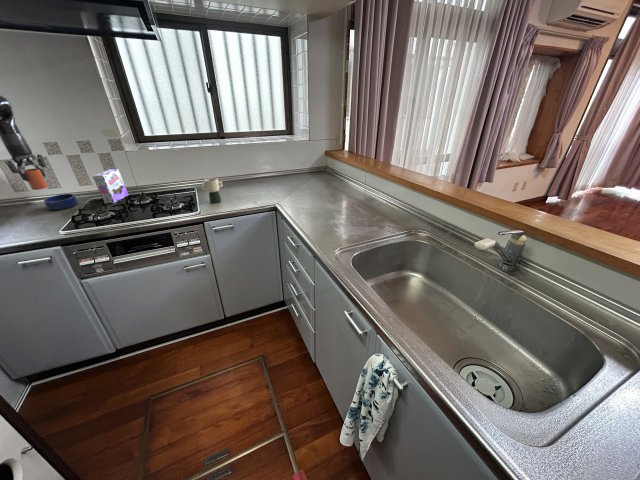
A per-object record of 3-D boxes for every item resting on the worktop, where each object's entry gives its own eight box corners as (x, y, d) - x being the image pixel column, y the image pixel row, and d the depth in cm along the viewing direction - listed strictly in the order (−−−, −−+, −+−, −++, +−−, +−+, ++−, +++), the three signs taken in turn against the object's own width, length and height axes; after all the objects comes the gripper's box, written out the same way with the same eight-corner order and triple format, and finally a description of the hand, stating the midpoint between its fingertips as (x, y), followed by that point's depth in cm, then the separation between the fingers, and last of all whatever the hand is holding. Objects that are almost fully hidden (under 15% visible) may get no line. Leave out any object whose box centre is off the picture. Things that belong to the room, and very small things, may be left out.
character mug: (224, 197, 159) (220, 176, 152) (226, 201, 153) (222, 179, 147) (205, 201, 155) (199, 179, 148) (206, 205, 149) (201, 182, 143)
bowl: (43, 212, 144) (38, 203, 141) (56, 203, 155) (51, 195, 152) (72, 209, 147) (67, 200, 145) (82, 200, 158) (78, 192, 156)
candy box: (114, 203, 153) (102, 175, 145) (104, 203, 153) (91, 175, 145) (129, 195, 165) (119, 168, 157) (120, 195, 165) (109, 168, 157)
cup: (29, 190, 131) (18, 172, 126) (36, 186, 136) (26, 168, 131) (44, 189, 132) (34, 171, 128) (51, 185, 137) (42, 167, 133)
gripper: (27, 140, 130) (45, 174, 139) (-10, 146, 118) (12, 182, 126) (39, 141, 129) (56, 175, 137) (2, 146, 117) (23, 183, 125)
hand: (35, 178), depth 132 cm, fingers closed on cup, 6 cm apart
